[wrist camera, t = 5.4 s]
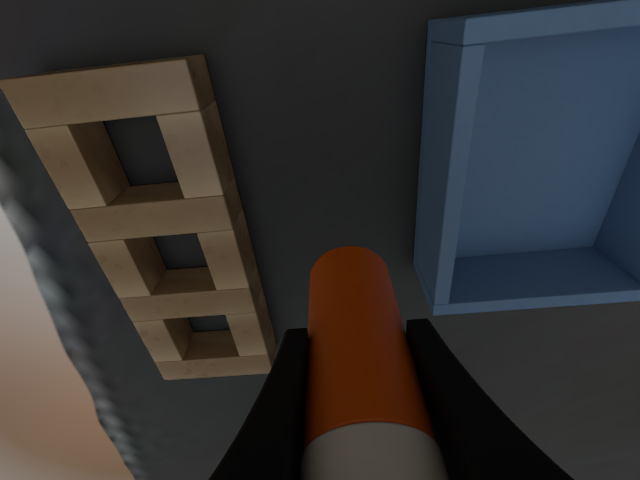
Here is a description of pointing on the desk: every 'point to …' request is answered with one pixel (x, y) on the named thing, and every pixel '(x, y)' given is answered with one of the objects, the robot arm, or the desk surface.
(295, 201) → the desk surface
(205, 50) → the desk surface
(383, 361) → the pill bottle
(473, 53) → the bin
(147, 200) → the pen rack
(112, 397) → the desk surface
